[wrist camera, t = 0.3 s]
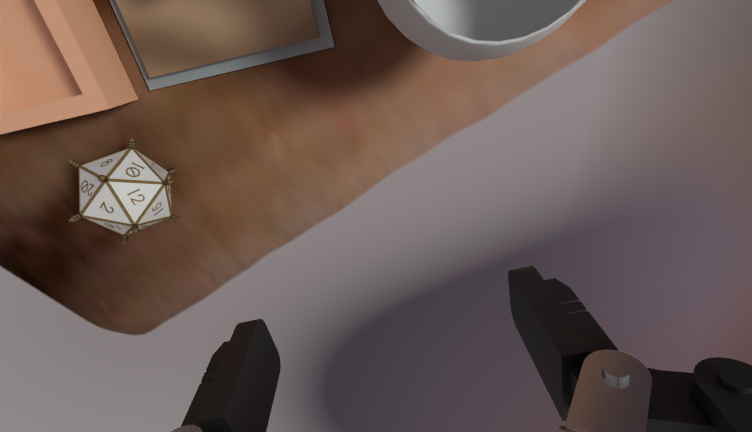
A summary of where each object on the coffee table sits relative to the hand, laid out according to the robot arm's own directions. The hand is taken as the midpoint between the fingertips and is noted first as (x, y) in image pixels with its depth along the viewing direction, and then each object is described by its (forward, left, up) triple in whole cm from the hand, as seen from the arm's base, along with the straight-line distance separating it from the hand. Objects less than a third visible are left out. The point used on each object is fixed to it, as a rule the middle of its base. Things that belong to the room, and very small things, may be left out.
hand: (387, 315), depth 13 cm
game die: (0, -23, -28) cm, 36 cm away
